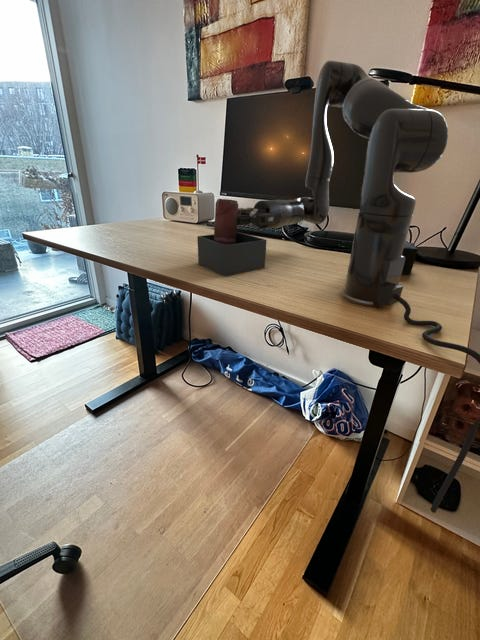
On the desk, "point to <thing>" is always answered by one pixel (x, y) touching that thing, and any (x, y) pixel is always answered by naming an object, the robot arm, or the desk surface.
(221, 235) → the can
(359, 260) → the robot arm
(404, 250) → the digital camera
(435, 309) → the desk surface
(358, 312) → the desk surface
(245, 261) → the bin
